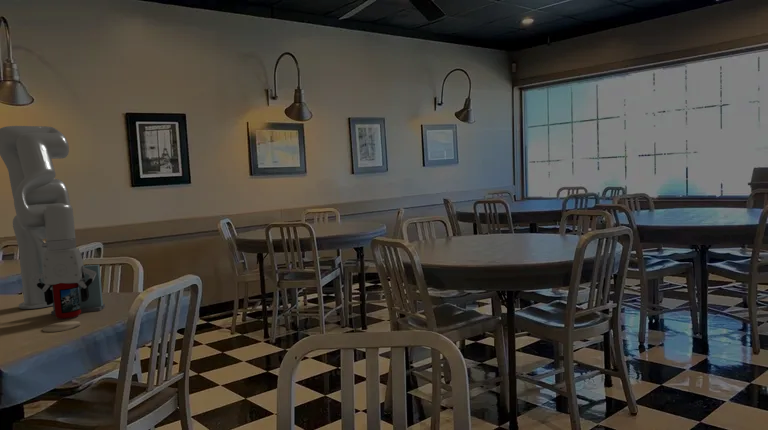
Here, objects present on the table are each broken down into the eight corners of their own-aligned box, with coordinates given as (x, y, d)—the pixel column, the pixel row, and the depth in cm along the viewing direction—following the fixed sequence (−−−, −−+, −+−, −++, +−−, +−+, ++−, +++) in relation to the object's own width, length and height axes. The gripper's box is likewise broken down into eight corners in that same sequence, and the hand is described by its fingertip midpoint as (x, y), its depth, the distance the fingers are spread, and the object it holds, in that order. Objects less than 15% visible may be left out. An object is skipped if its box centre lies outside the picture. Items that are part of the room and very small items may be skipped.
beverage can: (70, 320, 165) (66, 279, 164) (50, 320, 166) (46, 280, 165) (86, 314, 171) (82, 275, 171) (67, 314, 173) (63, 275, 172)
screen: (58, 311, 178) (53, 267, 177) (105, 307, 180) (101, 263, 179) (51, 314, 173) (46, 269, 172) (99, 310, 175) (95, 266, 174)
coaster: (51, 324, 160) (51, 322, 160) (85, 321, 162) (84, 319, 162) (37, 333, 151) (36, 331, 151) (72, 330, 153) (72, 328, 153)
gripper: (24, 249, 162) (30, 308, 163) (88, 244, 165) (94, 302, 166) (36, 246, 169) (42, 302, 171) (97, 242, 172) (102, 297, 173)
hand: (67, 302), depth 168 cm, fingers open, 9 cm apart
